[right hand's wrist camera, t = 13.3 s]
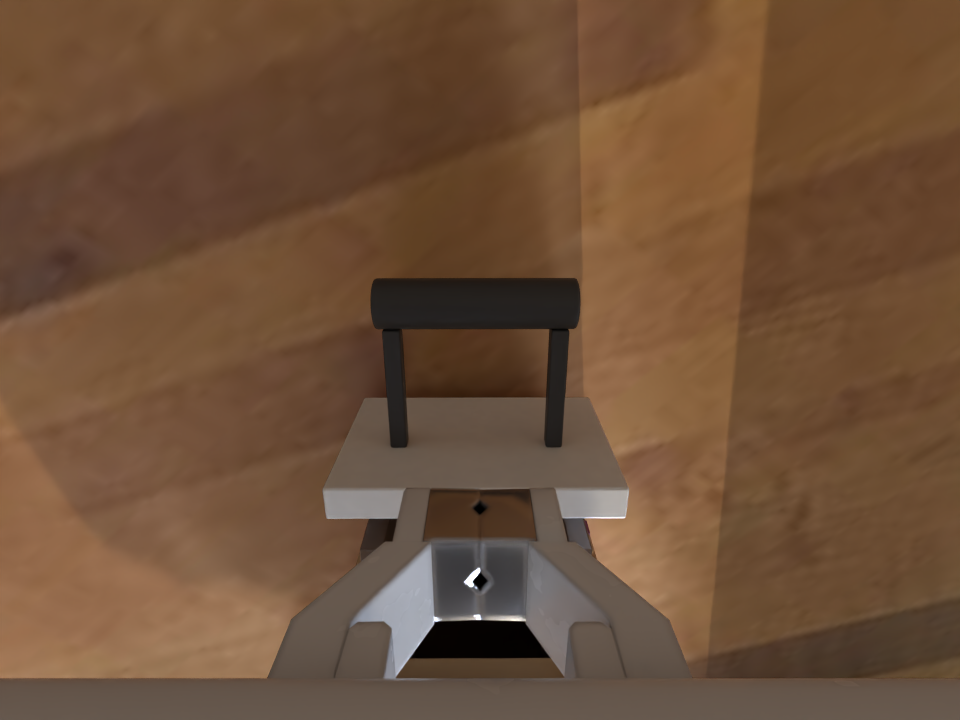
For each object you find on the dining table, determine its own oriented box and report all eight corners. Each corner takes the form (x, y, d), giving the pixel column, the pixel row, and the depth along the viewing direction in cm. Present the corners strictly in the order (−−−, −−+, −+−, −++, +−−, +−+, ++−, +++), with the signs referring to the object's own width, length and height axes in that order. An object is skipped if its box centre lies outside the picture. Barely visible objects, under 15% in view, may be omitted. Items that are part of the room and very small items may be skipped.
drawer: (351, 256, 21) (295, 301, 14) (601, 255, 21) (653, 301, 14) (388, 658, 29) (362, 798, 23) (567, 657, 29) (591, 797, 23)
